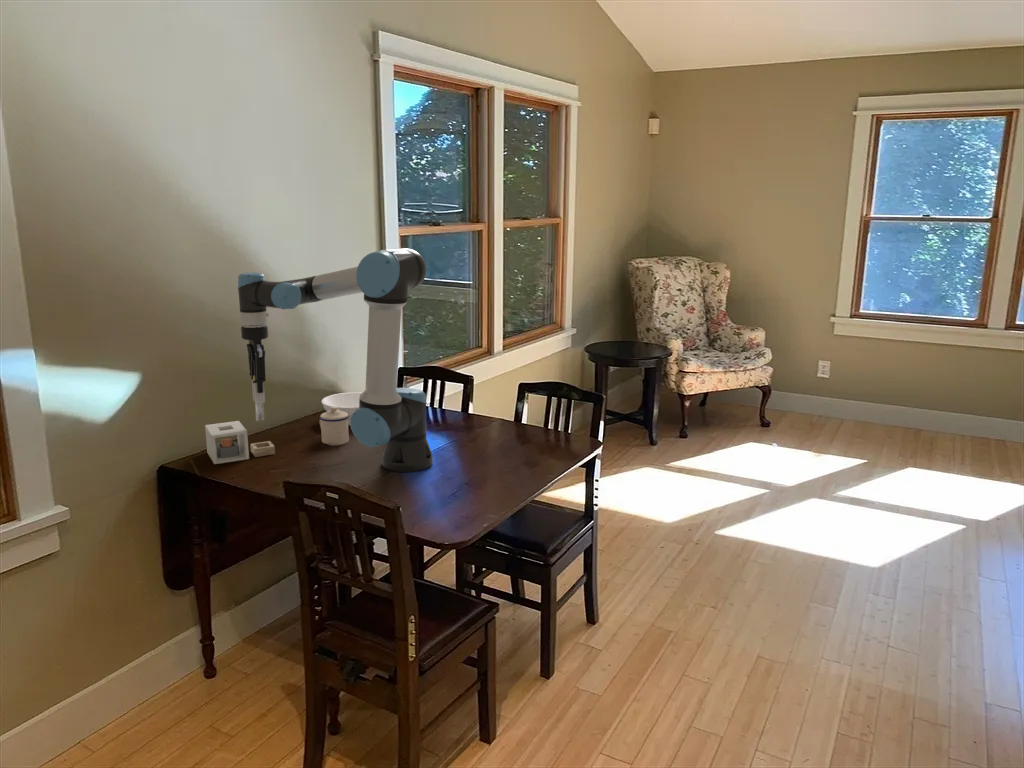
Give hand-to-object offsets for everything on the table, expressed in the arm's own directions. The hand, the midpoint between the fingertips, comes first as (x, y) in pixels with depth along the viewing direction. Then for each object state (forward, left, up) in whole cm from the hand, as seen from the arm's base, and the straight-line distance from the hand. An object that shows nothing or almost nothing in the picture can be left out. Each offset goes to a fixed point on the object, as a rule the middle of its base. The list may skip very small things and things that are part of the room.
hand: (259, 401), depth 240 cm
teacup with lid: (+3, -23, -17) cm, 29 cm away
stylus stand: (0, 0, -17) cm, 17 cm away
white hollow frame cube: (+2, +10, -17) cm, 20 cm away
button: (+2, +10, -15) cm, 18 cm away
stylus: (0, 0, -6) cm, 6 cm away
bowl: (+21, -36, -17) cm, 45 cm away
